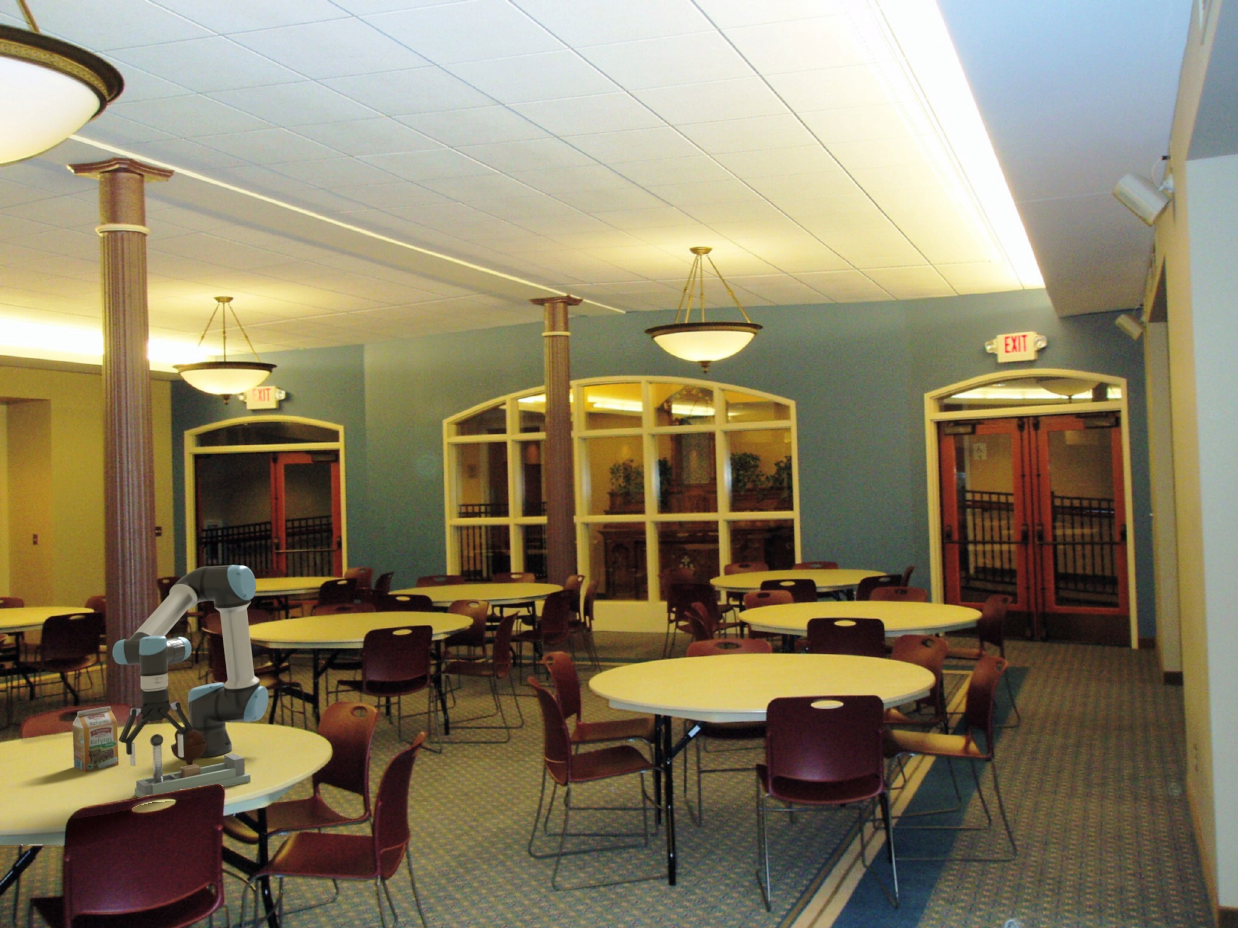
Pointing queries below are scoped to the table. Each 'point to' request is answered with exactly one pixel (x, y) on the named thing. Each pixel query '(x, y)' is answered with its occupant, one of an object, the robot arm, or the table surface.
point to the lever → (158, 760)
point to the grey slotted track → (199, 778)
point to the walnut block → (189, 771)
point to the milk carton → (95, 739)
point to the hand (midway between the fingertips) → (157, 760)
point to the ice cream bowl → (190, 746)
